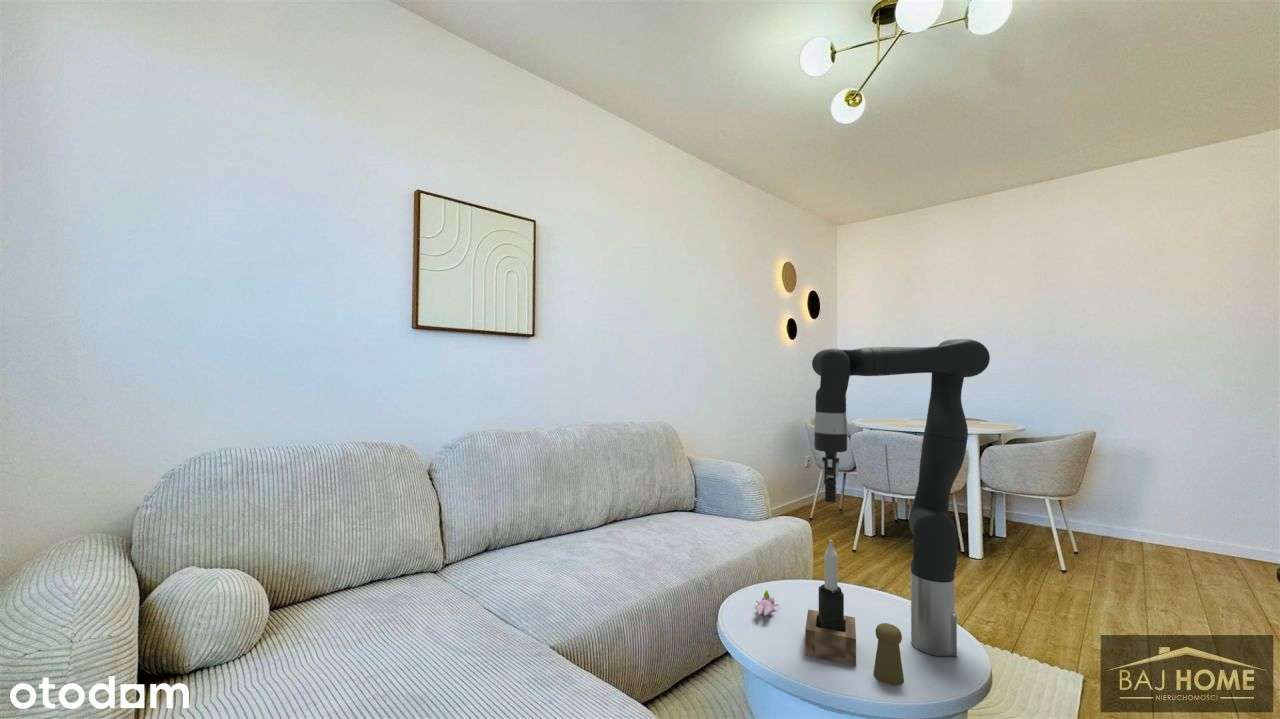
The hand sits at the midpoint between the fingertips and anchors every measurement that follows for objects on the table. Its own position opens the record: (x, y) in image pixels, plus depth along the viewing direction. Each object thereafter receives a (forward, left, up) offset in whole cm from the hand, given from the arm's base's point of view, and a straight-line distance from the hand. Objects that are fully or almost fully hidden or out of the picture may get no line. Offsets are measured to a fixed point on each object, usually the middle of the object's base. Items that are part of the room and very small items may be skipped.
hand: (830, 497), depth 124 cm
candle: (0, 0, -35) cm, 35 cm away
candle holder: (0, 0, -36) cm, 36 cm away
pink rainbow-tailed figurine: (+17, -13, -36) cm, 42 cm away
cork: (-12, +7, -36) cm, 39 cm away
